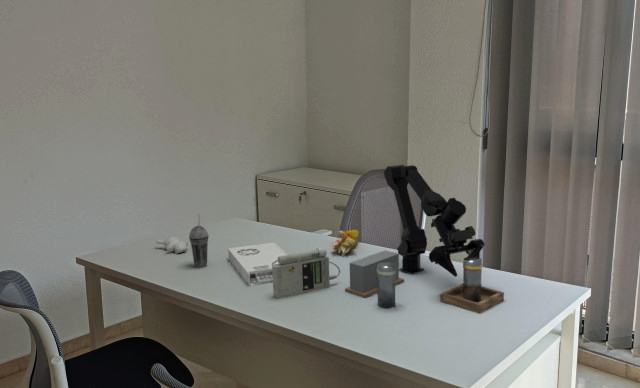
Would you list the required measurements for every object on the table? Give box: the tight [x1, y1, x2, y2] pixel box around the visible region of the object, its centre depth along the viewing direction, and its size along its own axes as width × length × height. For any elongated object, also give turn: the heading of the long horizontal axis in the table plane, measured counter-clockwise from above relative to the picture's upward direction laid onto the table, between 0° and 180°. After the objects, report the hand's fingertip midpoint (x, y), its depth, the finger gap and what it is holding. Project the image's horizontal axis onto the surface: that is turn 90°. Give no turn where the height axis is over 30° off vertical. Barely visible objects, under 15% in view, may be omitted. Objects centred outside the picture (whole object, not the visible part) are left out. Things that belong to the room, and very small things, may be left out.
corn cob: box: [330, 229, 360, 257], centre depth 263 cm, size 8×8×25 cm
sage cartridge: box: [377, 262, 396, 309], centre depth 203 cm, size 6×6×13 cm
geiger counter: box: [272, 246, 341, 299], centre depth 218 cm, size 14×6×25 cm
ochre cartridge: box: [462, 257, 483, 302], centre depth 204 cm, size 6×6×13 cm
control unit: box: [344, 250, 405, 299], centre depth 219 cm, size 20×9×10 cm, turn 134°
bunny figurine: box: [155, 236, 188, 255], centre depth 269 cm, size 10×5×15 cm
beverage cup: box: [188, 214, 209, 269], centre depth 245 cm, size 7×7×20 cm
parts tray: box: [439, 283, 505, 314], centre depth 205 cm, size 14×14×3 cm
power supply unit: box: [227, 242, 289, 287], centre depth 242 cm, size 19×33×5 cm, turn 20°
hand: (468, 273), depth 205 cm, fingers open, 9 cm apart
